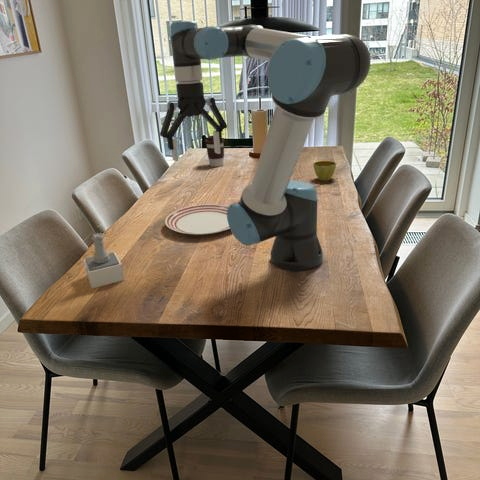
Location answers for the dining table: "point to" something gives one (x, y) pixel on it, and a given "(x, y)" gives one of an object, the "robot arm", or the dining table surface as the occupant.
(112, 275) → the stand
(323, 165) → the flower pot
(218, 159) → the coffee cup
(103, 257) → the rook chess piece
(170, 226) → the dinner plate
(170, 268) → the dining table surface
